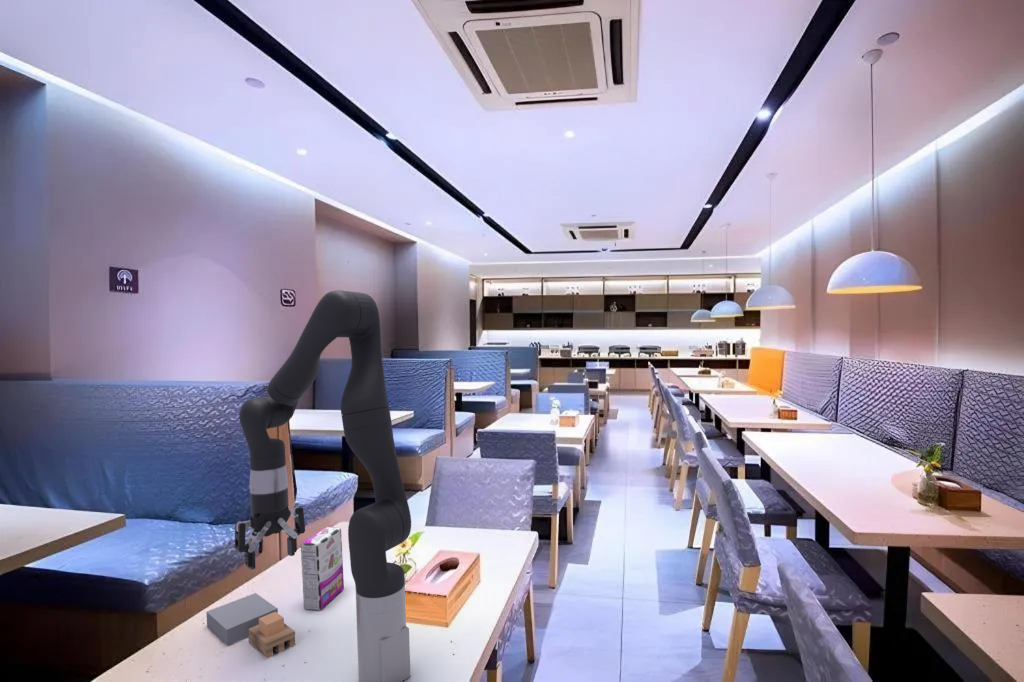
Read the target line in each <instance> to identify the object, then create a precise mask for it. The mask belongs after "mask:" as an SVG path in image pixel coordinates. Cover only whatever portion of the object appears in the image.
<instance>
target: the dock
mask: <svg viewBox="0 0 1024 682" xmlns="http://www.w3.org/2000/svg"><path fill="white" fill-rule="evenodd" d="M278 611H279V609H278V607H276V606H275V605H273V604H272V603H270V602H269V601H268V600H266V599H265V598H264V597H263V596H261V595H259V594H257V593H256V592H254V593H251V594H249V595H247V596H244V597H241V598H238V599H236V600H233V601H230V602H228V603H225V604H223V605H220V606H218V607H215V608H213V609H209V610H207V611H206V627H207V628H208V629H209V628H210V629H211V630H210V629H209V630H210V631H211V632H212V633H213V634H214V635H215V636H216V637H217V638H218V639H219V640H220V641H221V642H223V643H224V645H226V646H230V645H233V644H235V643H237V642H239V641H238V640H240V641H241V639H242V640H244V639H246V638H249V637H248V636H249V630H248V629H250V628H252V627H254V626H257V625H259V618H261V617H264V616H266V615H269V614H271V613H273V612H277V613H278ZM278 614H279V613H278ZM243 638H244V639H243ZM236 641H237V642H236ZM234 642H235V643H234ZM232 643H233V644H232Z"/></svg>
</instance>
